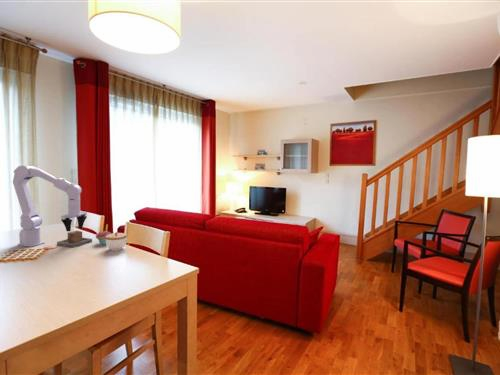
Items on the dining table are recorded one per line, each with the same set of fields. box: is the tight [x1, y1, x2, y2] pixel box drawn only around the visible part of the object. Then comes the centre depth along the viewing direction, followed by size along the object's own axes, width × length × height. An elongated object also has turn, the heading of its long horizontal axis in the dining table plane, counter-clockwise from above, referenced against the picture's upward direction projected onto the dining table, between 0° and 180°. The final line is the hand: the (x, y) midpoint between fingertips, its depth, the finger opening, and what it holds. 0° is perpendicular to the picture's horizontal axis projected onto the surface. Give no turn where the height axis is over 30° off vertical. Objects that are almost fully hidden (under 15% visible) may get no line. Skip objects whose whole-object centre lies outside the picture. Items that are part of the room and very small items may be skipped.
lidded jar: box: [105, 231, 128, 252], centre depth 147 cm, size 11×11×9 cm
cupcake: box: [95, 223, 112, 245], centre depth 156 cm, size 9×8×12 cm
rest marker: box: [43, 245, 58, 250], centre depth 145 cm, size 6×6×1 cm
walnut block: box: [67, 230, 83, 244], centre depth 154 cm, size 5×5×6 cm
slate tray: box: [56, 236, 93, 248], centre depth 155 cm, size 12×12×2 cm
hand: (74, 229), depth 154 cm, fingers open, 7 cm apart
